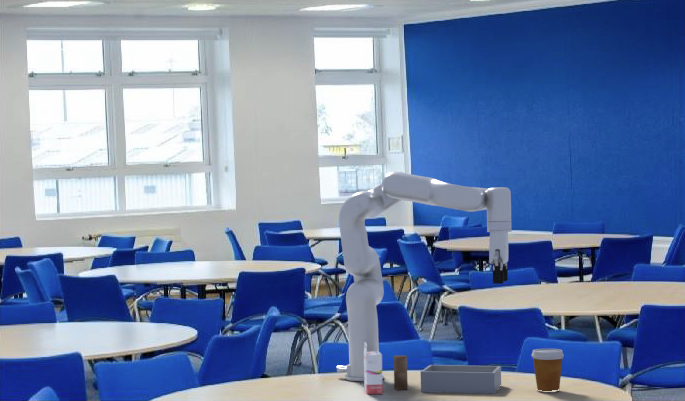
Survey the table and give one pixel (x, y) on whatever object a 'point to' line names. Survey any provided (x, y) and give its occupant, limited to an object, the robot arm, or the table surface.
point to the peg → (400, 372)
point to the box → (461, 379)
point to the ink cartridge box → (372, 372)
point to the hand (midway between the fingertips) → (500, 282)
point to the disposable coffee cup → (547, 368)
